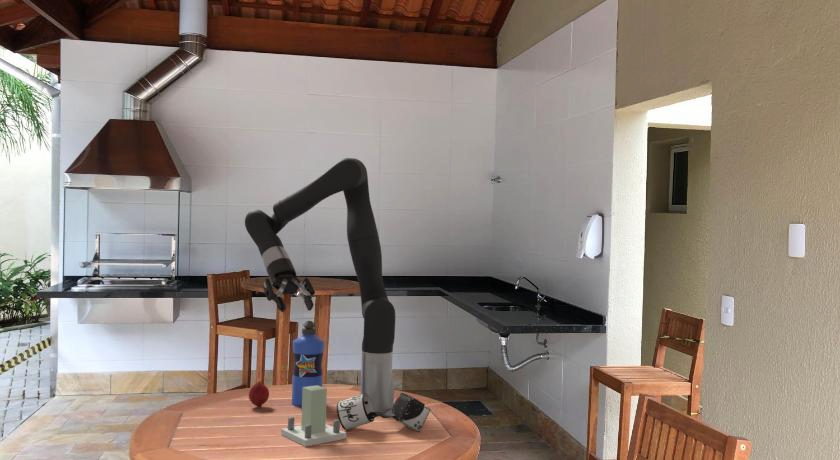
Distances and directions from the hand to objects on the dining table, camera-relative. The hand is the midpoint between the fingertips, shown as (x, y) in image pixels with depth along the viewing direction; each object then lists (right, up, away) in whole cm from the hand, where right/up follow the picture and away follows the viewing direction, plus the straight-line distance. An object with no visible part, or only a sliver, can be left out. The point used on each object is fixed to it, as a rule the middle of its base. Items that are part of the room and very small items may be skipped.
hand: (297, 309), depth 204 cm
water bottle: (0, -31, +18) cm, 36 cm away
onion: (-14, -30, +12) cm, 35 cm away
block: (+6, -30, -15) cm, 34 cm away
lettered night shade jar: (+23, -32, -6) cm, 40 cm away
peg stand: (+7, -31, -15) cm, 35 cm away
